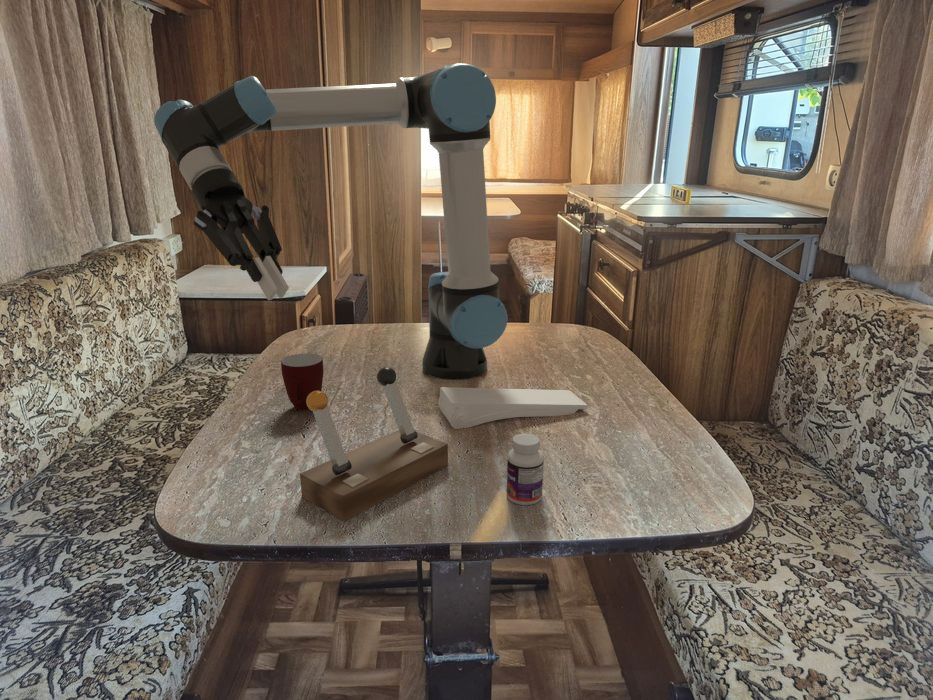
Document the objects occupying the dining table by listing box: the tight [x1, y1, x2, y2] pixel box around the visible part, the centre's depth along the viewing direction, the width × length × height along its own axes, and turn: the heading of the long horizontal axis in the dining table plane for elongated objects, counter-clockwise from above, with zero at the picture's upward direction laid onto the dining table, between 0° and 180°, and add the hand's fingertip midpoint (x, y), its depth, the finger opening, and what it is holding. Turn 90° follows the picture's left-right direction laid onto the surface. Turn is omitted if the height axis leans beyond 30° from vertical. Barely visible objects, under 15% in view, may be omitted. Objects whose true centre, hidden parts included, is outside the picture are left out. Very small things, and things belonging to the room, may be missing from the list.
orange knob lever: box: [306, 390, 352, 475], centre depth 99 cm, size 3×3×13 cm
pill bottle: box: [506, 432, 545, 506], centre depth 99 cm, size 5×5×10 cm
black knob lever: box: [376, 366, 418, 444], centre depth 109 cm, size 3×3×13 cm
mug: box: [280, 353, 325, 411], centre depth 131 cm, size 10×8×10 cm
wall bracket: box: [437, 386, 588, 430], centre depth 131 cm, size 10×7×28 cm
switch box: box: [299, 429, 449, 522], centre depth 105 cm, size 10×22×4 cm, turn 139°
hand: (278, 293), depth 106 cm, fingers closed
